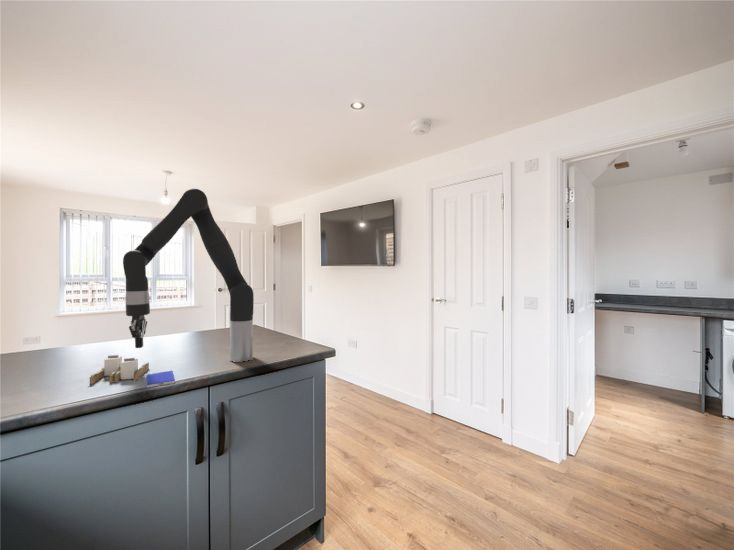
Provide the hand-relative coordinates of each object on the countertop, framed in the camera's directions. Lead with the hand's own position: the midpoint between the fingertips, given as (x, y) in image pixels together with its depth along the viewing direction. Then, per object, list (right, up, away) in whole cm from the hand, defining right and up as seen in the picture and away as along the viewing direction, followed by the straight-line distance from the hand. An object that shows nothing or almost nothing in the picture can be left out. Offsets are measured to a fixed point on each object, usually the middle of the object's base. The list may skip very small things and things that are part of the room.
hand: (139, 347), depth 125 cm
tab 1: (-6, -9, -5) cm, 12 cm away
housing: (-5, -9, -8) cm, 13 cm away
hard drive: (+15, -10, -10) cm, 20 cm away
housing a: (+1, -9, -6) cm, 11 cm away
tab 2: (+3, -9, -9) cm, 13 cm away
